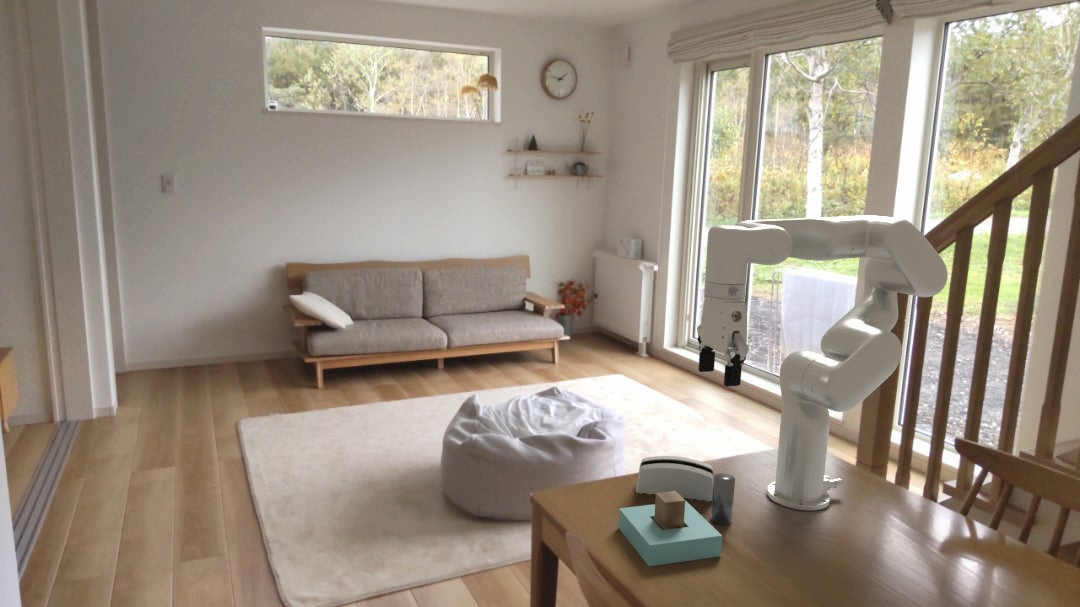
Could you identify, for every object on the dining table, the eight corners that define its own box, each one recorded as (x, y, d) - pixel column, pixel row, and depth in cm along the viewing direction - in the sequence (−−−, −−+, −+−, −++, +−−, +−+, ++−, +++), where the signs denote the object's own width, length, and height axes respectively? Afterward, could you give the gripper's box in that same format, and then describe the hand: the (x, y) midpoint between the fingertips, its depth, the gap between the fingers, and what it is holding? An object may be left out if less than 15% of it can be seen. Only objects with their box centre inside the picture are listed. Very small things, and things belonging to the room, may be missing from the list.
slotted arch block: (715, 491, 155) (718, 456, 150) (715, 508, 151) (718, 472, 146) (637, 482, 159) (637, 447, 154) (634, 498, 155) (635, 463, 150)
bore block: (684, 519, 142) (685, 500, 142) (720, 556, 129) (722, 535, 128) (618, 527, 139) (619, 508, 138) (648, 566, 125) (649, 545, 125)
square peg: (672, 535, 136) (675, 490, 135) (682, 546, 132) (685, 500, 131) (653, 537, 135) (655, 493, 133) (662, 548, 131) (665, 502, 130)
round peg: (725, 514, 145) (728, 472, 143) (735, 523, 141) (739, 480, 139) (707, 516, 144) (710, 474, 142) (717, 526, 140) (720, 482, 138)
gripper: (768, 298, 129) (760, 390, 133) (719, 283, 146) (713, 365, 149) (731, 300, 127) (724, 393, 130) (685, 284, 144) (680, 367, 147)
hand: (718, 378), depth 140 cm, fingers open, 9 cm apart
